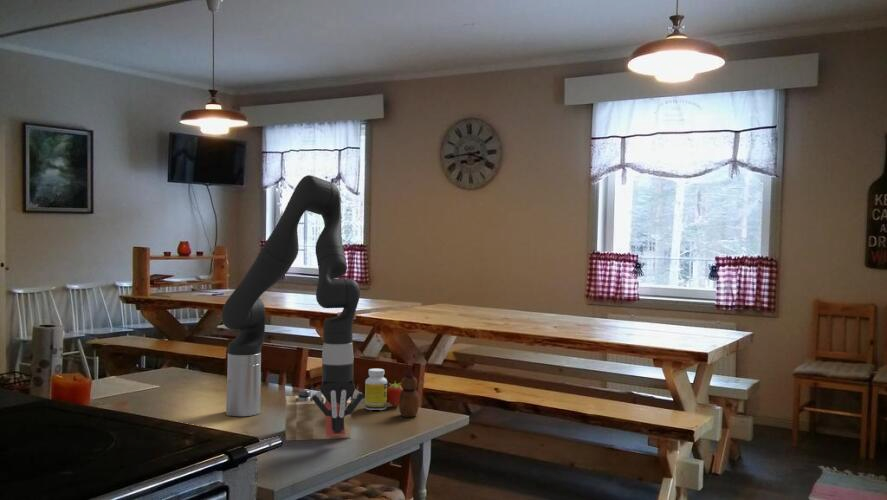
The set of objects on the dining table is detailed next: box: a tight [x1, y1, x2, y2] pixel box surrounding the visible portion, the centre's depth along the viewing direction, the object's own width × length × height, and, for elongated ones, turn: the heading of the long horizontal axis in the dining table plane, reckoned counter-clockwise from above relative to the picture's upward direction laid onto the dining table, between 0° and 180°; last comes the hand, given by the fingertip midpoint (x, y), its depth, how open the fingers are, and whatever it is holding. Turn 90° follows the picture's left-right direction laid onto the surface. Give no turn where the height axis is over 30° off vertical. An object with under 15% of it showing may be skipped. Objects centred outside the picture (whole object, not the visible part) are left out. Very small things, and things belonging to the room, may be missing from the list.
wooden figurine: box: [398, 362, 420, 418], centre depth 218 cm, size 7×6×15 cm
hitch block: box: [284, 394, 352, 441], centre depth 195 cm, size 16×12×11 cm
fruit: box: [387, 381, 403, 408], centre depth 229 cm, size 5×5×8 cm
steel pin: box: [297, 389, 312, 402], centre depth 195 cm, size 3×3×11 cm
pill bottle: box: [364, 368, 388, 411], centre depth 226 cm, size 6×6×12 cm
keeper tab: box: [325, 399, 345, 436], centre depth 189 cm, size 4×10×1 cm
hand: (337, 432), depth 185 cm, fingers closed
